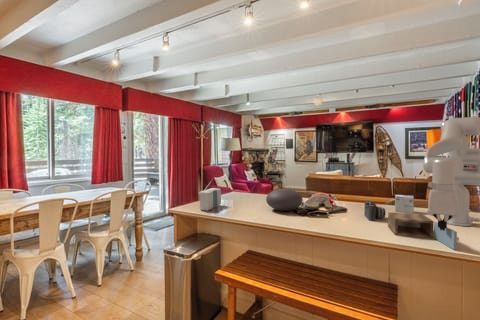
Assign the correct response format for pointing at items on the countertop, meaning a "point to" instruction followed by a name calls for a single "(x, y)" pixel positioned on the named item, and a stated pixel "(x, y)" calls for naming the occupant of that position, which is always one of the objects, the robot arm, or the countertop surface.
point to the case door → (446, 236)
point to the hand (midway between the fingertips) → (442, 229)
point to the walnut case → (410, 225)
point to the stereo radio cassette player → (210, 198)
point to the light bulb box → (404, 203)
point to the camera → (373, 211)
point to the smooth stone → (284, 199)
